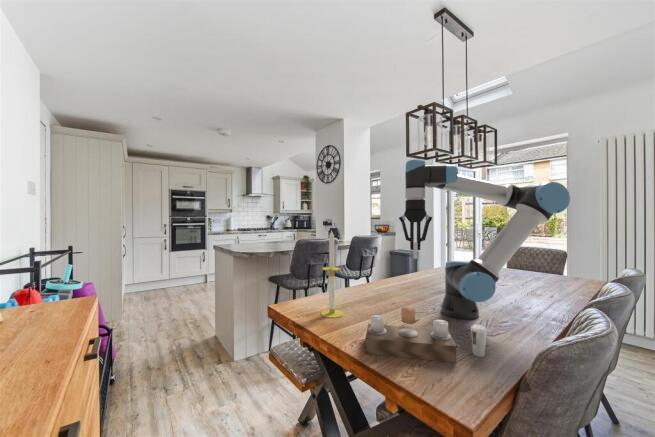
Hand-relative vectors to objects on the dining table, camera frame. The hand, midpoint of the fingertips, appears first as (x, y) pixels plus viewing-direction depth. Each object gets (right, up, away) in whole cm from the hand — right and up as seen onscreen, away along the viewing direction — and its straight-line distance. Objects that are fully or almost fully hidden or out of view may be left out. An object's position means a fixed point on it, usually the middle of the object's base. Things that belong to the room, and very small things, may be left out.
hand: (415, 258), depth 115 cm
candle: (-33, -27, +12) cm, 44 cm away
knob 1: (-18, -21, -18) cm, 34 cm away
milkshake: (+12, -27, -24) cm, 38 cm away
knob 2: (+1, -21, -23) cm, 31 cm away
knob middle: (-9, -18, -21) cm, 29 cm away
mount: (-9, -27, -20) cm, 35 cm away
